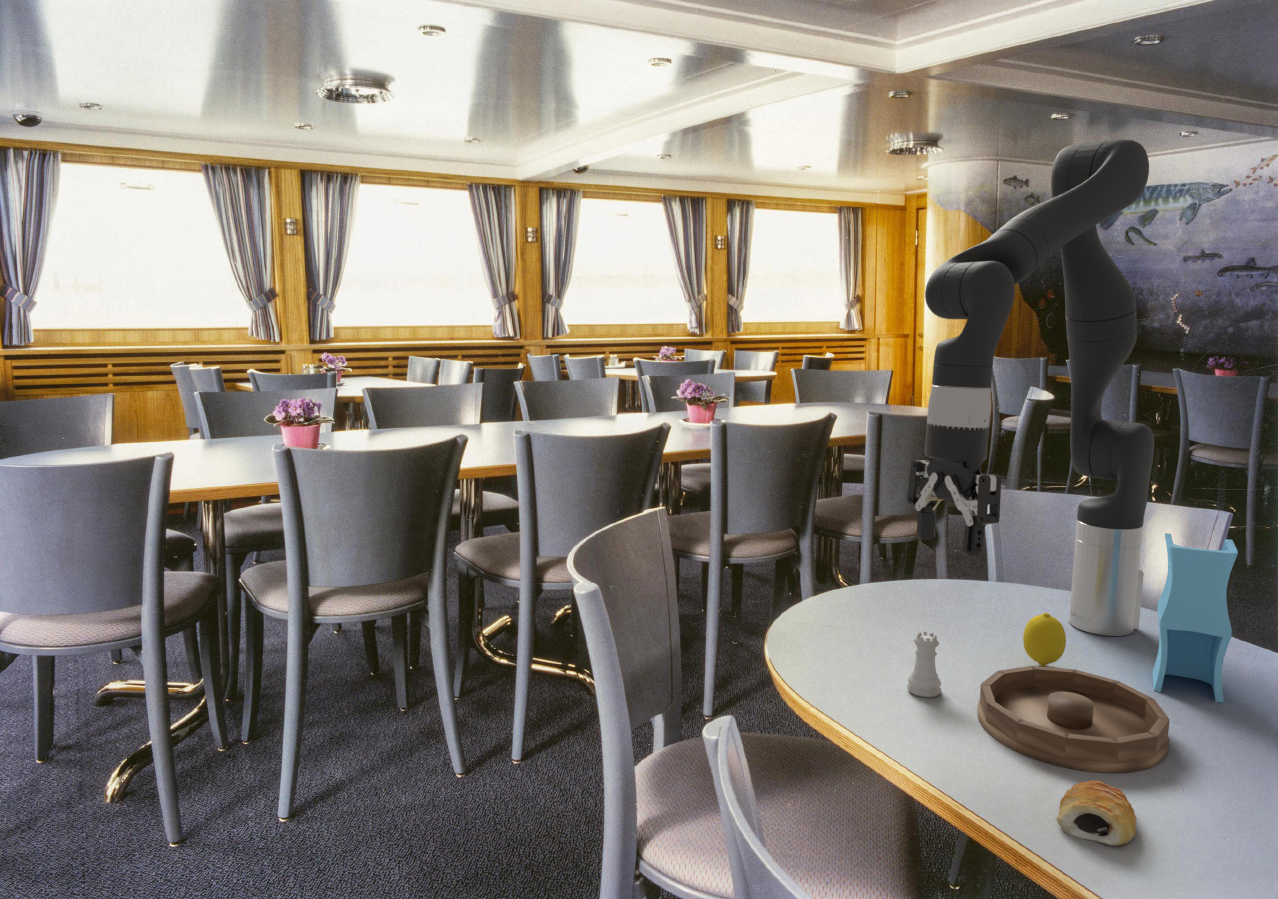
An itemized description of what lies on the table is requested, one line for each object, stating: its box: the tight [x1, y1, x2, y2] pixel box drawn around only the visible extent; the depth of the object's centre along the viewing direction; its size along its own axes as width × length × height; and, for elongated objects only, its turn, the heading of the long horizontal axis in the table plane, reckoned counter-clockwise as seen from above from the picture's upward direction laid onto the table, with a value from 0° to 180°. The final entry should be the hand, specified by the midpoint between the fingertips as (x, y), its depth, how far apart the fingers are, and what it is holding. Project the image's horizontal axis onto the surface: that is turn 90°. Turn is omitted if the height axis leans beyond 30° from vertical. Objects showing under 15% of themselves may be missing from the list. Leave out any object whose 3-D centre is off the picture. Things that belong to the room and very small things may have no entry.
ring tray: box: [977, 665, 1171, 774], centre depth 106 cm, size 21×21×4 cm
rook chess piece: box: [906, 631, 942, 699], centre depth 116 cm, size 4×4×8 cm
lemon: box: [1022, 612, 1067, 667], centre depth 124 cm, size 6×6×8 cm
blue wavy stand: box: [1151, 532, 1239, 703], centre depth 116 cm, size 8×8×20 cm
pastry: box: [1055, 779, 1137, 847], centre depth 88 cm, size 9×7×4 cm
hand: (947, 546), depth 112 cm, fingers open, 8 cm apart
